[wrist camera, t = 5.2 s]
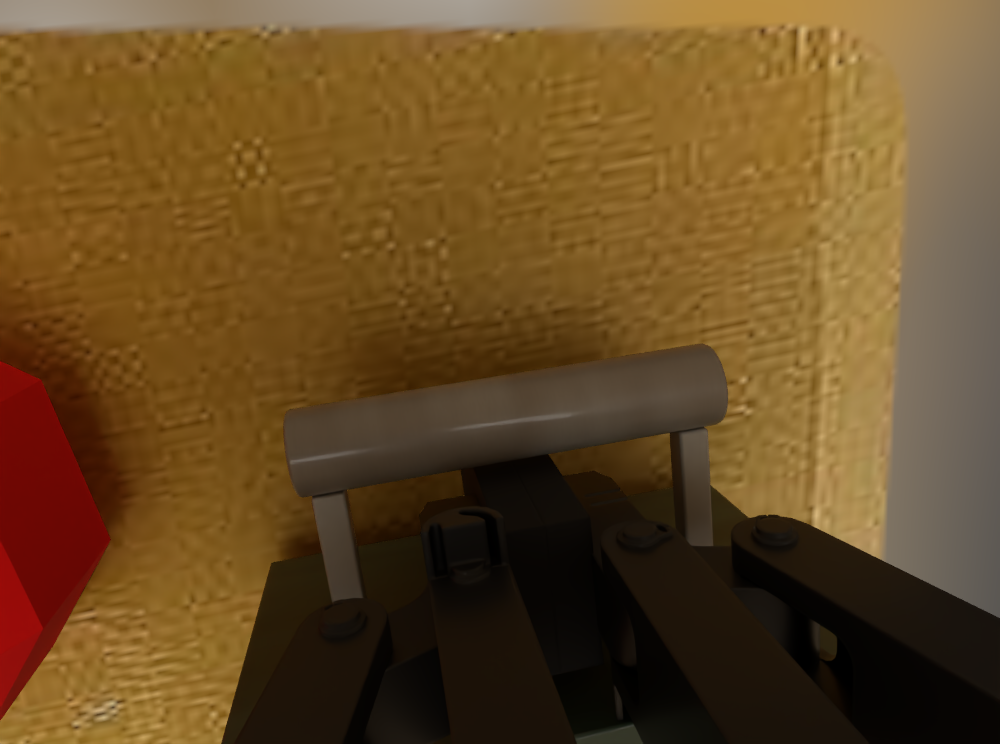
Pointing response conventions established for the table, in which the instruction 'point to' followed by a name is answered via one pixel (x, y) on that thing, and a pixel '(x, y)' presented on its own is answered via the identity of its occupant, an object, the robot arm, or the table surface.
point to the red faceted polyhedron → (39, 530)
